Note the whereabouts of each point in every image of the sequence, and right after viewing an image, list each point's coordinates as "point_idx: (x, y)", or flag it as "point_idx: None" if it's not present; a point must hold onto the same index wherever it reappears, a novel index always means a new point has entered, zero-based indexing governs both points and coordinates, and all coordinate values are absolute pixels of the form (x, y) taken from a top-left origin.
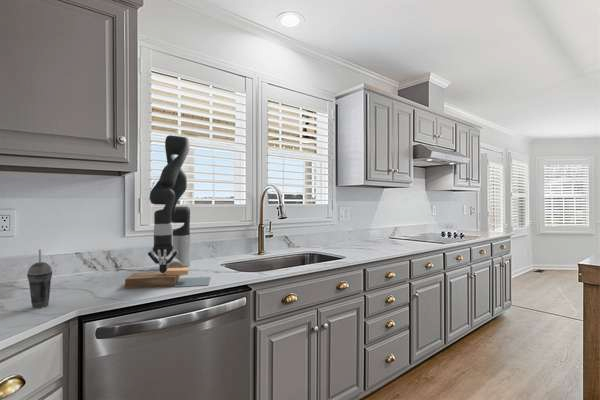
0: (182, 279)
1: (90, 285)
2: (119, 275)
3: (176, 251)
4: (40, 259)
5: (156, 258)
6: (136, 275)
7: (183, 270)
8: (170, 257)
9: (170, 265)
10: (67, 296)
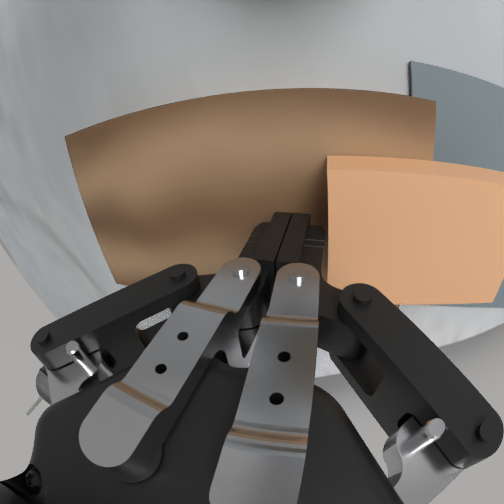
0: (437, 121)
1: (26, 177)
2: (27, 16)
3: (452, 473)
4: (39, 402)
5: (151, 314)
6: (112, 210)
7: (467, 302)
8: (366, 404)
9: None
10: (67, 287)
